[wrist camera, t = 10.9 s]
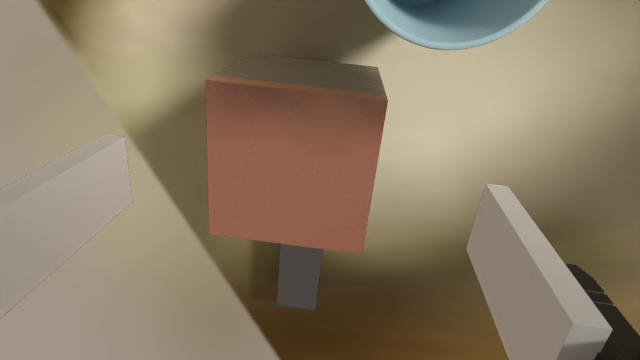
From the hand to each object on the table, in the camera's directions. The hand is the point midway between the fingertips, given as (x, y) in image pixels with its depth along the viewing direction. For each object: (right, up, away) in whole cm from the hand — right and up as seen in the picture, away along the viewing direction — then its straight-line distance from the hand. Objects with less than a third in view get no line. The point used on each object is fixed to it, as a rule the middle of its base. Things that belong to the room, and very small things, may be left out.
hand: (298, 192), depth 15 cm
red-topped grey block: (0, +4, +9) cm, 10 cm away
